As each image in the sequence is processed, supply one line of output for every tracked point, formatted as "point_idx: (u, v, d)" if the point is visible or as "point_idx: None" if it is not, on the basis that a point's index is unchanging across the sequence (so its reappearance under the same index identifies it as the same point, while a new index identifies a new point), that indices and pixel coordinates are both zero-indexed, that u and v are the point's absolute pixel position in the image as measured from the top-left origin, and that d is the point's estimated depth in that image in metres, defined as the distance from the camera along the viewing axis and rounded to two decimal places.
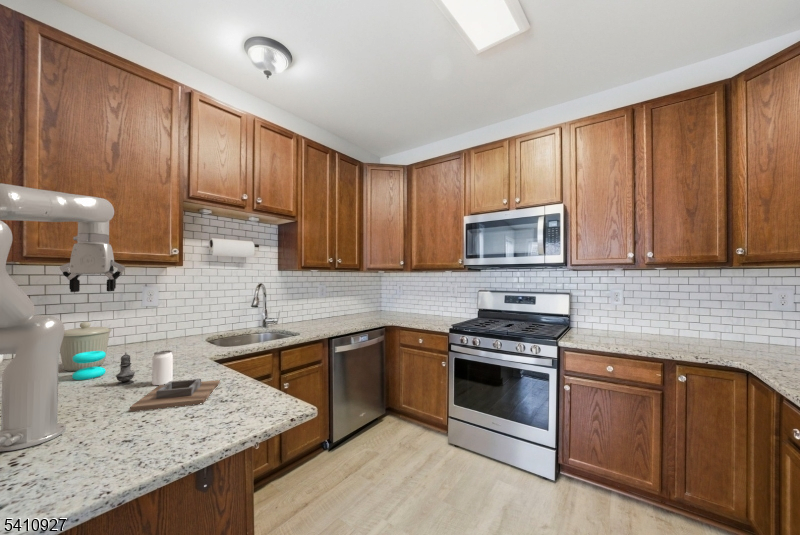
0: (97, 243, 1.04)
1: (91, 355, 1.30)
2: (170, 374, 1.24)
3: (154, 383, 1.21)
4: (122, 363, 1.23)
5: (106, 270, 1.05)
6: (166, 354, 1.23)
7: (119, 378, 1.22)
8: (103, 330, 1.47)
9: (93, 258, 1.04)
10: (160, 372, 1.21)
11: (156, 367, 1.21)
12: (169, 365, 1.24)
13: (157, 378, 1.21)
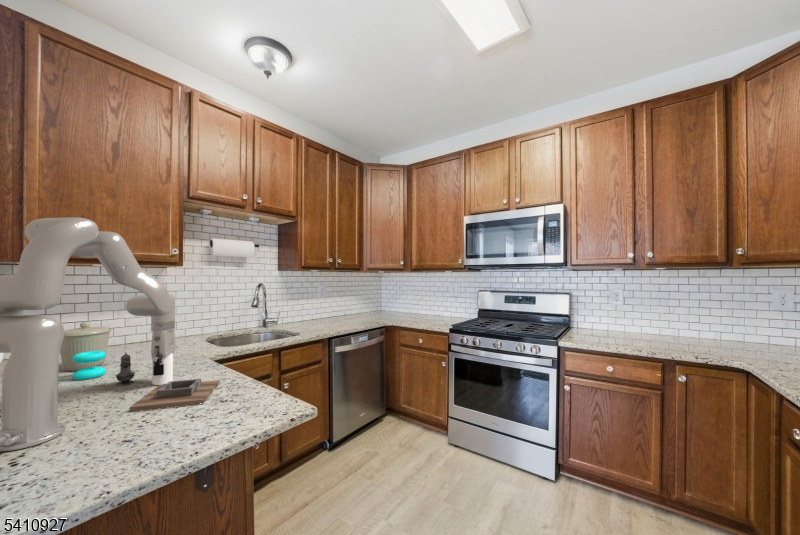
0: None
1: (91, 355, 1.30)
2: (170, 374, 1.24)
3: (154, 383, 1.21)
4: (122, 363, 1.23)
5: None
6: None
7: (119, 378, 1.22)
8: (103, 330, 1.47)
9: (172, 340, 1.27)
10: None
11: None
12: (169, 365, 1.24)
13: (158, 378, 1.21)
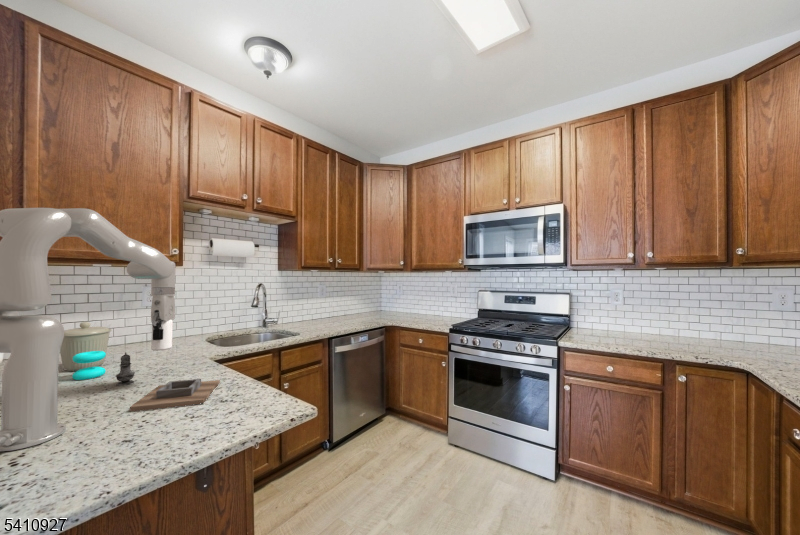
0: None
1: (91, 355, 1.30)
2: (169, 340, 1.24)
3: (153, 348, 1.21)
4: (122, 363, 1.23)
5: None
6: None
7: (119, 378, 1.22)
8: (103, 330, 1.47)
9: (172, 307, 1.27)
10: None
11: None
12: (169, 331, 1.24)
13: (157, 342, 1.21)
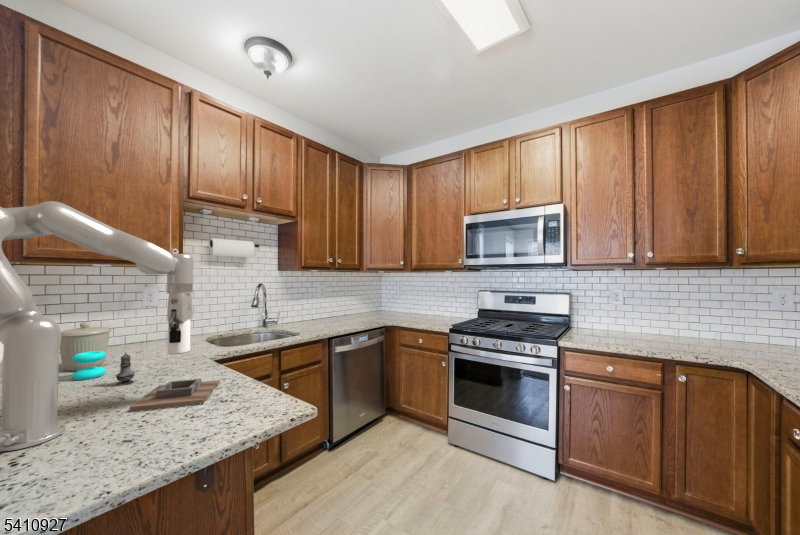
0: None
1: (91, 355, 1.30)
2: (188, 342, 1.11)
3: (170, 351, 1.08)
4: (122, 363, 1.23)
5: None
6: None
7: (119, 378, 1.22)
8: (103, 330, 1.47)
9: (190, 306, 1.13)
10: None
11: None
12: (187, 332, 1.11)
13: (174, 345, 1.08)
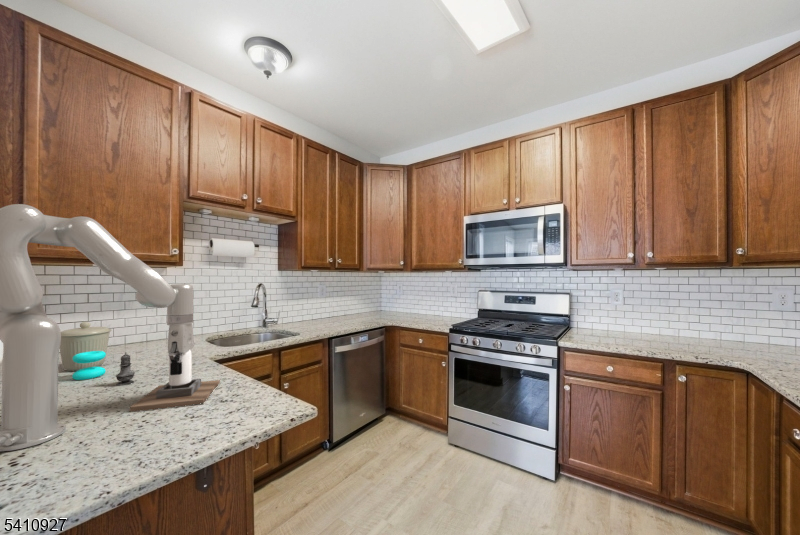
0: None
1: (91, 355, 1.30)
2: (189, 373, 1.10)
3: (171, 383, 1.07)
4: (122, 363, 1.23)
5: None
6: None
7: (119, 378, 1.22)
8: (103, 330, 1.47)
9: (191, 336, 1.13)
10: None
11: None
12: (188, 363, 1.10)
13: (175, 377, 1.07)
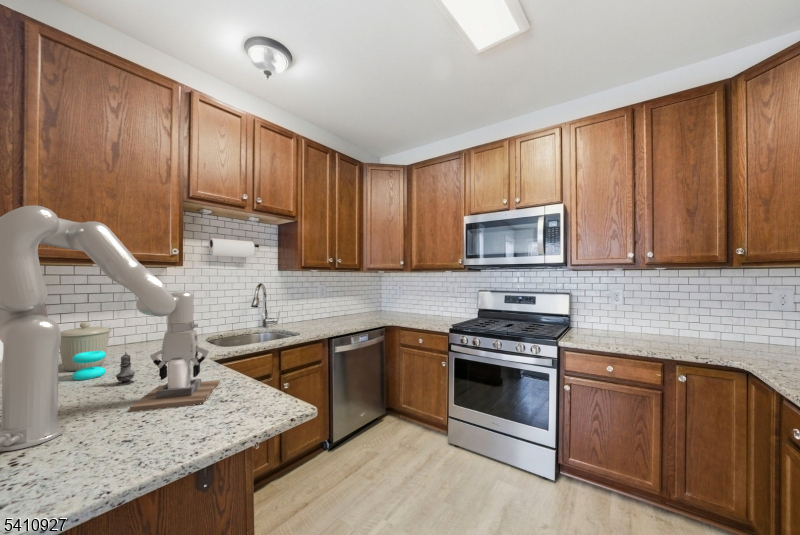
0: None
1: (91, 355, 1.30)
2: None
3: None
4: (122, 363, 1.23)
5: None
6: None
7: (119, 378, 1.22)
8: (103, 330, 1.47)
9: None
10: (190, 376, 1.11)
11: (189, 372, 1.10)
12: None
13: (189, 382, 1.11)
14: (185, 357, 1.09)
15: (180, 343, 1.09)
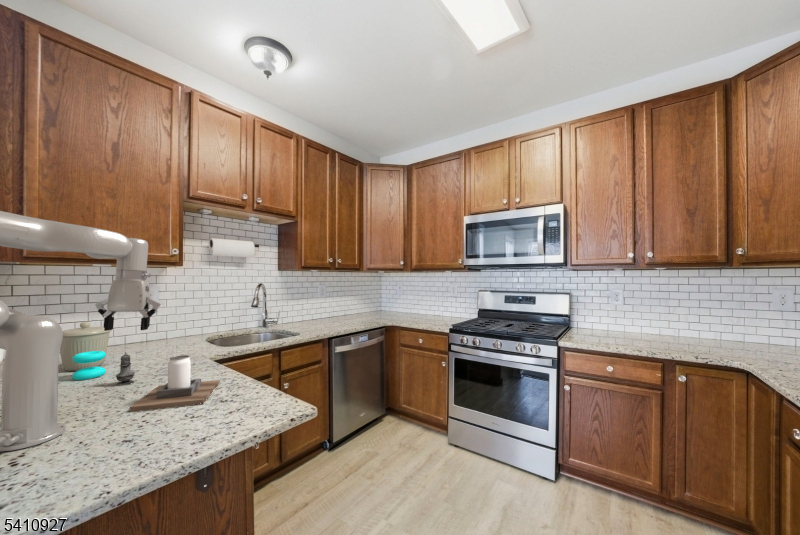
0: None
1: (91, 355, 1.30)
2: None
3: None
4: (122, 363, 1.23)
5: None
6: None
7: (119, 378, 1.22)
8: (103, 330, 1.47)
9: None
10: (190, 376, 1.11)
11: (189, 372, 1.10)
12: None
13: (189, 382, 1.11)
14: (133, 308, 1.01)
15: (128, 292, 1.01)
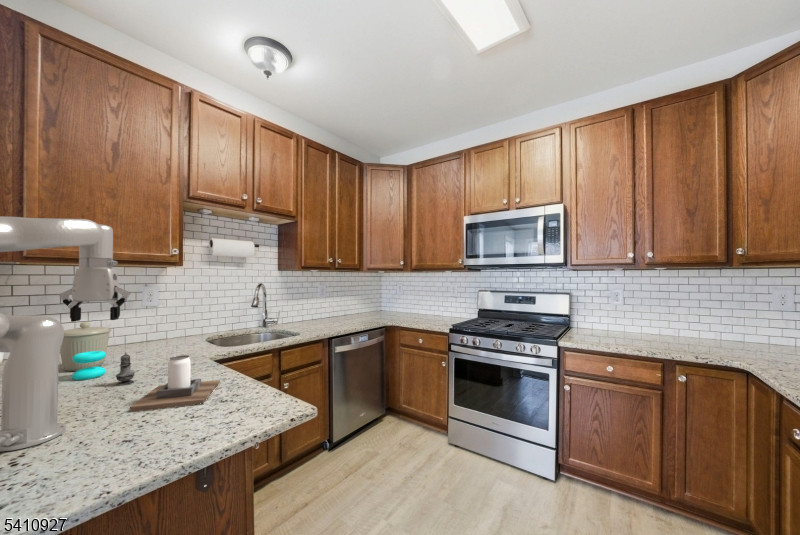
0: None
1: (91, 355, 1.30)
2: None
3: None
4: (122, 363, 1.23)
5: None
6: None
7: (119, 378, 1.22)
8: (103, 330, 1.47)
9: None
10: (190, 376, 1.11)
11: (189, 372, 1.10)
12: None
13: (189, 382, 1.11)
14: (100, 297, 0.96)
15: (94, 281, 0.96)
